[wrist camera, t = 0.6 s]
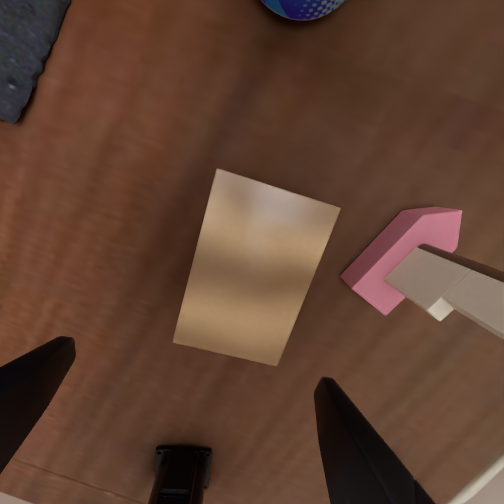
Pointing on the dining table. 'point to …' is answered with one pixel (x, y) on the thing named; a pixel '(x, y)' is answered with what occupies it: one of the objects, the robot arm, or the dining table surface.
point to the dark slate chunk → (25, 48)
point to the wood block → (252, 268)
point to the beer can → (302, 8)
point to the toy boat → (427, 270)
